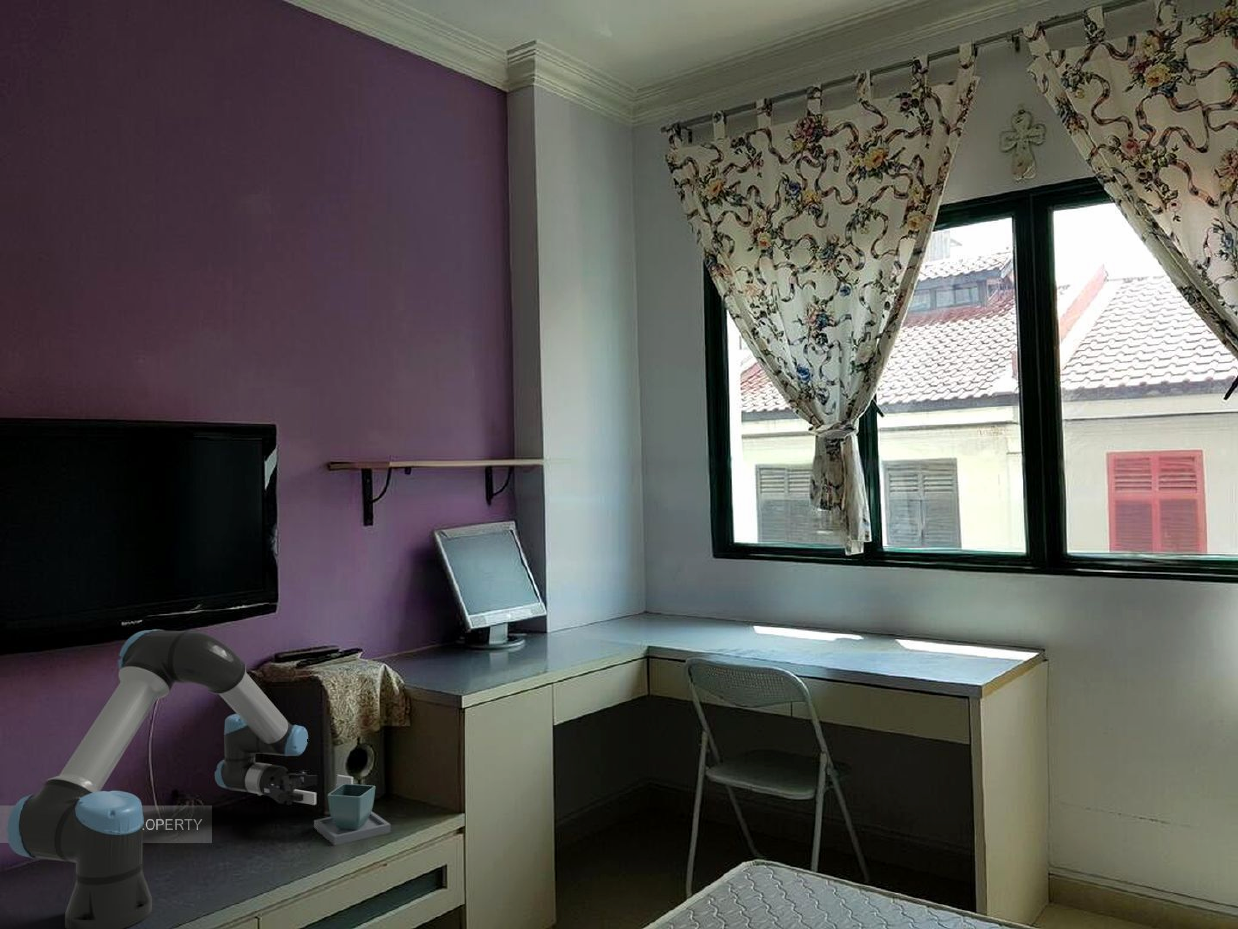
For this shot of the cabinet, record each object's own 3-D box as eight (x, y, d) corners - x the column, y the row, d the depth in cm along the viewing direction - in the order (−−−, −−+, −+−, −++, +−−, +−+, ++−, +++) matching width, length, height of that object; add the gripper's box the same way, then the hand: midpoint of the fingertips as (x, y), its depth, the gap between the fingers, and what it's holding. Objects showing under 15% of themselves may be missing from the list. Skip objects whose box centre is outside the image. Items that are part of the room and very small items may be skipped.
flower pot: (360, 834, 232) (360, 796, 232) (326, 832, 233) (326, 794, 234) (376, 821, 240) (376, 785, 241) (343, 819, 242) (343, 783, 242)
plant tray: (334, 845, 227) (334, 837, 227) (314, 828, 238) (314, 820, 239) (390, 832, 236) (390, 824, 236) (368, 816, 247) (368, 809, 247)
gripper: (302, 780, 259) (366, 791, 251) (231, 809, 237) (298, 822, 228) (302, 752, 260) (366, 762, 251) (231, 779, 237) (298, 790, 228)
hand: (334, 790), depth 240 cm, fingers open, 13 cm apart
